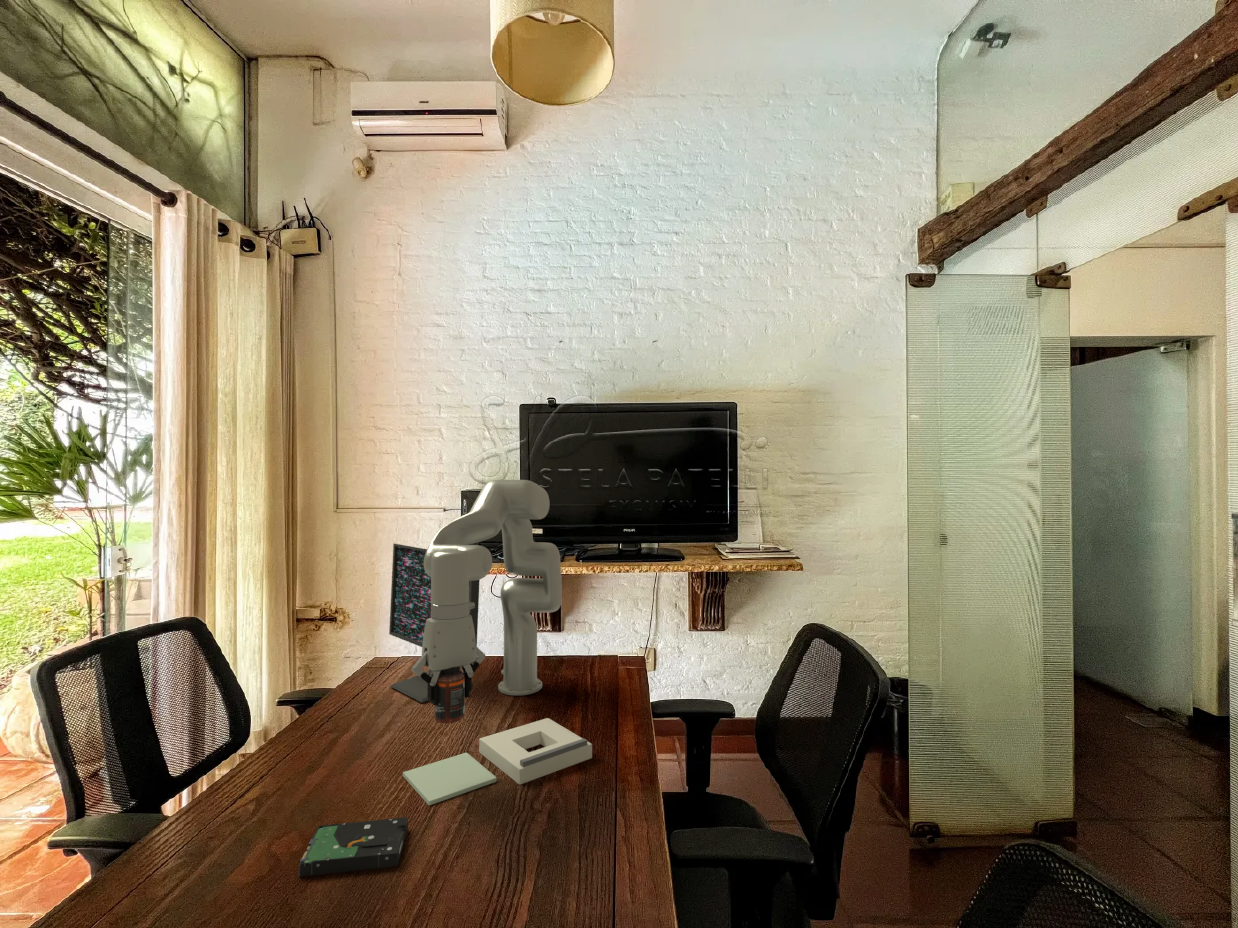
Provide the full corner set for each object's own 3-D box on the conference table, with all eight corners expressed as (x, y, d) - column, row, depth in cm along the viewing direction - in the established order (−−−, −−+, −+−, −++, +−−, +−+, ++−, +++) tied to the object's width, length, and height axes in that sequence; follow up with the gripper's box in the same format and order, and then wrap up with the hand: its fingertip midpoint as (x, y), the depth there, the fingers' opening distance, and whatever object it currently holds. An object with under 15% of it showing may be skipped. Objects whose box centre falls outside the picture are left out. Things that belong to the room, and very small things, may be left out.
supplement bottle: (470, 715, 125) (470, 660, 125) (453, 726, 120) (454, 669, 120) (445, 711, 127) (446, 657, 127) (428, 722, 121) (428, 665, 122)
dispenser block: (479, 751, 135) (479, 733, 135) (547, 730, 146) (547, 713, 146) (519, 784, 121) (519, 764, 121) (592, 757, 132) (592, 739, 132)
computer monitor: (369, 677, 183) (370, 545, 184) (419, 664, 195) (419, 540, 196) (447, 717, 154) (447, 560, 154) (499, 700, 166) (500, 553, 166)
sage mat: (402, 776, 124) (402, 772, 124) (466, 755, 133) (466, 752, 133) (429, 805, 113) (429, 801, 113) (496, 781, 122) (496, 777, 122)
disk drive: (408, 831, 106) (317, 840, 103) (408, 815, 106) (317, 824, 104) (398, 869, 96) (297, 880, 93) (398, 852, 96) (297, 862, 93)
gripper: (480, 602, 132) (480, 685, 132) (401, 613, 121) (400, 704, 121) (496, 608, 126) (496, 695, 126) (415, 620, 115) (414, 715, 115)
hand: (449, 698), depth 123 cm, fingers closed on supplement bottle, 6 cm apart
